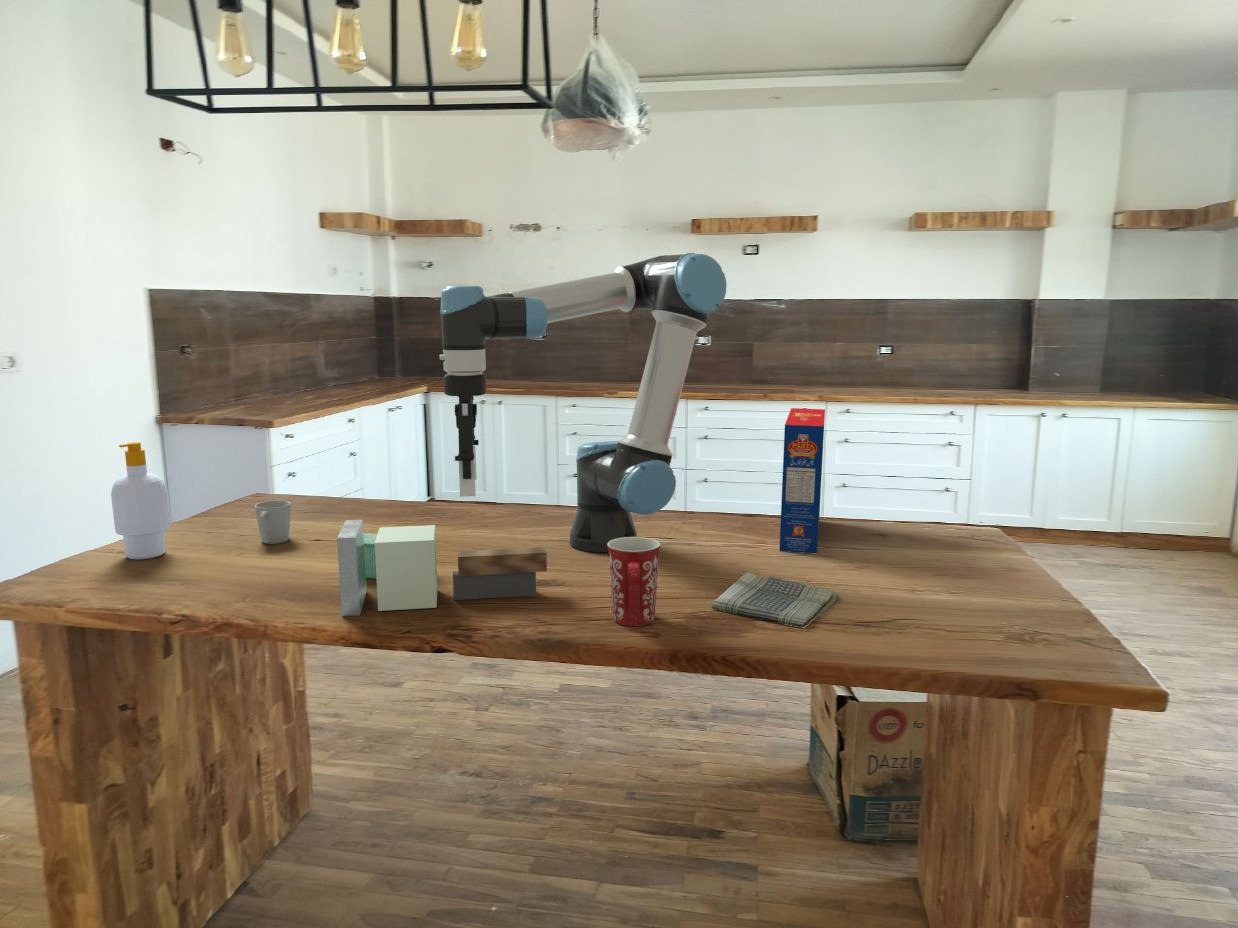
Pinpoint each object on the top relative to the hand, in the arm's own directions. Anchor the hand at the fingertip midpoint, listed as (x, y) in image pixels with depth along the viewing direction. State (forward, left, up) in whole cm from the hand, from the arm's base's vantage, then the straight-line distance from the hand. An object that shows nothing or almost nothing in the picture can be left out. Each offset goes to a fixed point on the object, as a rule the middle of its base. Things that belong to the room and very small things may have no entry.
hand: (468, 487), depth 158 cm
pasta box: (-76, -24, -20) cm, 82 cm away
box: (+16, -11, -20) cm, 28 cm away
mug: (-27, +23, -20) cm, 40 cm away
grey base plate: (+21, +5, -20) cm, 29 cm away
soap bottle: (+68, -33, -20) cm, 78 cm away
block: (+11, +5, -20) cm, 23 cm away
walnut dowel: (-6, +5, -15) cm, 17 cm away
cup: (+43, -38, -20) cm, 61 cm away
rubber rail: (-4, +5, -20) cm, 21 cm away
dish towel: (-54, +18, -20) cm, 61 cm away
